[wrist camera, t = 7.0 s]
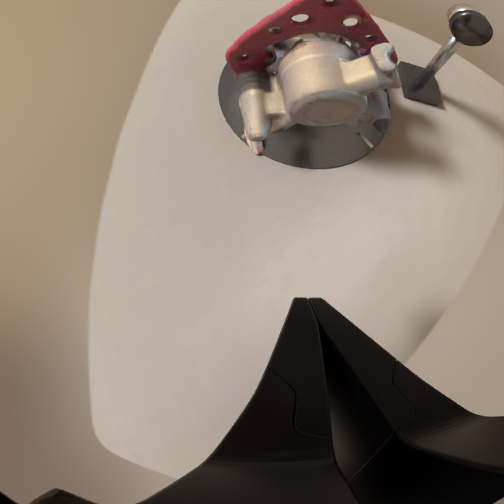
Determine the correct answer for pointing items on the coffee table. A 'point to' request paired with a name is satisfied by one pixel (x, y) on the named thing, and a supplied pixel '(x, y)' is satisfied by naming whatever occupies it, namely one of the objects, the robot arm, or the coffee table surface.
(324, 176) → the coffee table surface
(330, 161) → the truing plate
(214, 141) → the coffee table surface
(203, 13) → the coffee table surface
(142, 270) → the coffee table surface
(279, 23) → the brake caliper
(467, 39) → the stand
